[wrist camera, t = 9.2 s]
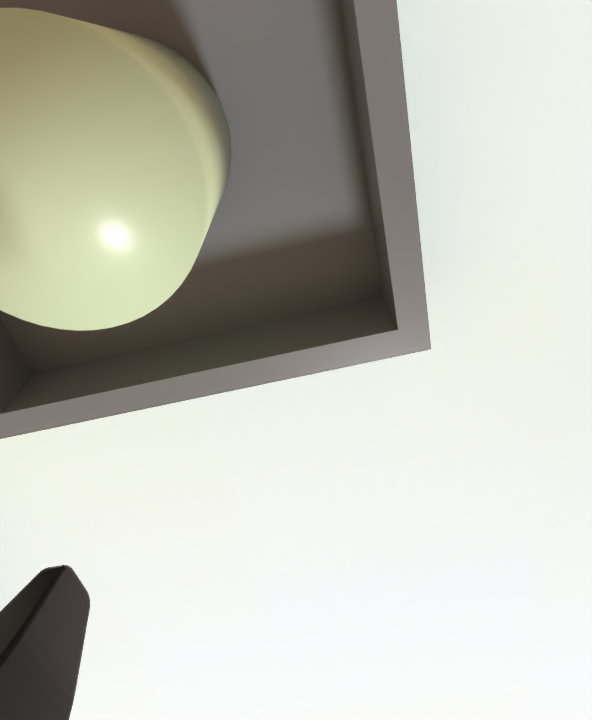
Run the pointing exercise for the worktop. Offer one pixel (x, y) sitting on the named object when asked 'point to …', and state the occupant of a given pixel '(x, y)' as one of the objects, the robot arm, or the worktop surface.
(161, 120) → the salad tub
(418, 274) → the serving bin
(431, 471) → the worktop surface
